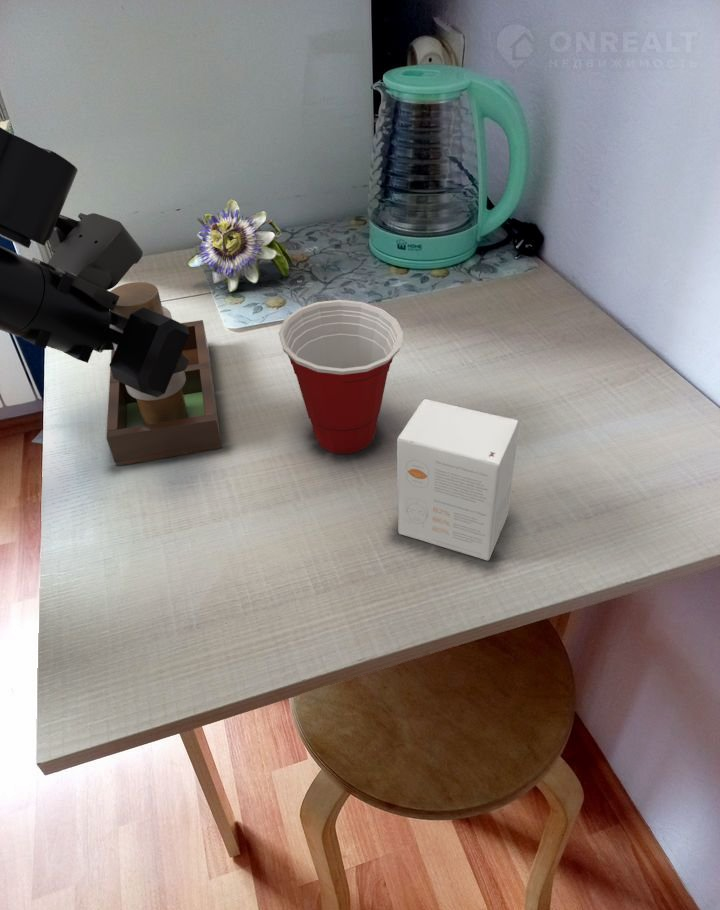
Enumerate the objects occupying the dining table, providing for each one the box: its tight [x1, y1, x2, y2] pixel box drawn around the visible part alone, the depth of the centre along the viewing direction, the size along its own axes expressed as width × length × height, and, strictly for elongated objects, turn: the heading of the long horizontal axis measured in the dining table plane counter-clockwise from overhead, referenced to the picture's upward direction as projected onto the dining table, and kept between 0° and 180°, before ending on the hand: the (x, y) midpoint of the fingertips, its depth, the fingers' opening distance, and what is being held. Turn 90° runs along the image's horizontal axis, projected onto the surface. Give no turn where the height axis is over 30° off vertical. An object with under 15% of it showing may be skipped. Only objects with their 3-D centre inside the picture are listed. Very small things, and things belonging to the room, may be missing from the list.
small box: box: [396, 398, 520, 561], centre depth 56 cm, size 8×6×10 cm
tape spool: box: [109, 281, 189, 425], centre depth 66 cm, size 6×6×14 cm
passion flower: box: [186, 198, 294, 293], centre depth 93 cm, size 11×11×12 cm
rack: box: [105, 319, 223, 467], centre depth 73 cm, size 19×10×4 cm, turn 13°
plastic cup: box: [278, 299, 404, 455], centre depth 65 cm, size 11×11×12 cm
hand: (162, 354), depth 67 cm, fingers open, 6 cm apart
